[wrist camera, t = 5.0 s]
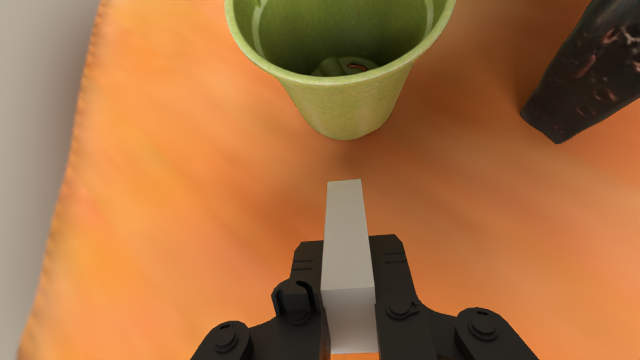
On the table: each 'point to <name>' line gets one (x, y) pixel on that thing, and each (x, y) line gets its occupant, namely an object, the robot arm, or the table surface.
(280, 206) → the table surface
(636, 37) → the ceramic cat
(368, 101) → the plant pot
